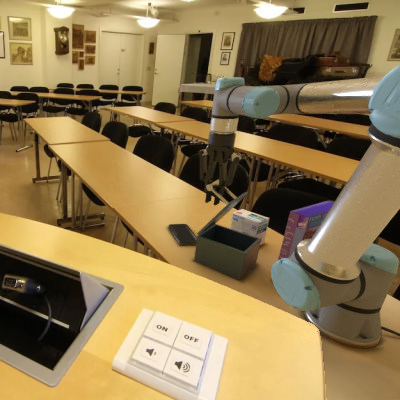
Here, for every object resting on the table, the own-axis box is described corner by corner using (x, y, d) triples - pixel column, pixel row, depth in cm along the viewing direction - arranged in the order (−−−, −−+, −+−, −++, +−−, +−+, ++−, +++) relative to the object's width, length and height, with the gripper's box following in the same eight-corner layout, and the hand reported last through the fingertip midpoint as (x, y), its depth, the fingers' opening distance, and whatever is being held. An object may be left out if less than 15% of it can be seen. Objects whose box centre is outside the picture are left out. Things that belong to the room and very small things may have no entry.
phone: (186, 223, 133) (200, 241, 120) (186, 226, 134) (199, 244, 120) (167, 224, 133) (179, 242, 119) (167, 226, 134) (179, 245, 120)
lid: (248, 193, 103) (225, 173, 106) (231, 204, 95) (207, 182, 98) (216, 223, 114) (196, 204, 118) (198, 235, 106) (178, 214, 110)
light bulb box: (264, 243, 119) (270, 217, 115) (254, 249, 116) (259, 222, 112) (238, 232, 128) (242, 208, 124) (227, 237, 124) (232, 212, 120)
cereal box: (287, 289, 95) (307, 217, 86) (272, 280, 99) (290, 210, 90) (325, 274, 101) (347, 205, 92) (309, 266, 105) (329, 199, 96)
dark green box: (256, 264, 107) (261, 238, 104) (240, 280, 100) (245, 253, 96) (211, 247, 118) (215, 223, 114) (194, 260, 110) (197, 235, 106)
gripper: (254, 133, 94) (240, 206, 103) (205, 127, 105) (196, 193, 114) (243, 137, 89) (230, 213, 99) (193, 130, 100) (185, 199, 109)
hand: (212, 202), depth 106 cm, fingers closed on lid, 2 cm apart
